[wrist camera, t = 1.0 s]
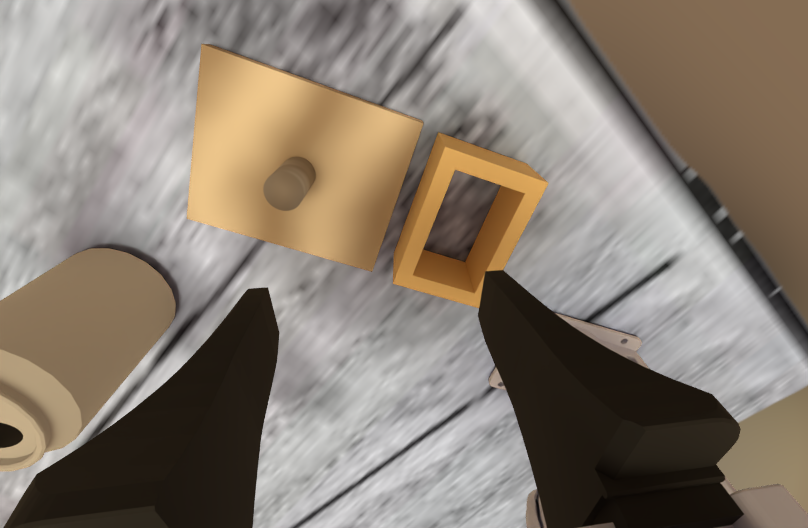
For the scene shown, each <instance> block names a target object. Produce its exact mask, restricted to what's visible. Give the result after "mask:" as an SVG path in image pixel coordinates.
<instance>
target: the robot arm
mask: <svg viewBox="0 0 808 528" xmlns="http://www.w3.org/2000/svg"><path fill="white" fill-rule="evenodd" d="M478 317H479V321H480V325H481V329H482V332H483V335H484V339H485V342H486V344H487V347H488V349H489V351H490V354H491V356H492V358H493V361H494V363H495V365H496V368H495V369H494V371H493V373H492V374H491V376H490V378H489V384H490V386H492V387H495V388H499V389H503V390H506V391H507V393H508V395H509V398H510V400H511V403H512V405H513V408H514V411H515V414H516V417H517V420H518V424H519V427H520V430H521V433H522V436H523V440H524V443H525V447H526V450H527V453H528V457H529V460H530V464H531V467H532V471H533V475H534V479H535V482H536V486H537V489H536V490H533V491H532V492H530V493H529V495H528V498H527V510H526V524H527V528H808V513H807V512H806V511H805V510H804V509H803V508H802V507H801V505H800V504H799V503H798V502H797V501H796V500H795V499H794V498H793V496H792V495H791V494H790V493H789V492H788V491H787V489H786V488H785V487H784V486H783V485H780V484H774V485H767V486H761V487H754V488H747V489H742V490H738V491H736V490H735V488H734V487H733V486H732V485H731V484H730V482H729V481H728V479H727V478H726V477H725V476H724V474H723V473H722V472H721V470H719V468H718V466H717V465H716V464H717V462H718V461H719V460H720V459H721V458H722V457H723V456H724V455H725V454H726V453H727V452H728V451H729V450H730V448H731V447H732V446H733V445H734V444H735V442H736V441H737V440H738V437H739V434H740V427H739V424H738V423H737V421H736V420H735V419H734V418H733V417H732V416H731V415H730V414H729V412H728V411H727V410H726V409H725V408H724V407H723V406H722V405H721V404H720V402H719V401H718V400H717V399H716V398H715V397H714V396H713V395H712V394H710V393H707V392H705V391H702V390H699V389H697V388H694V387H692V386H689V385H686V384H684V383H681V382H678V381H676V380H673V379H671V378H668V377H666V376H664V375H662V374H659V373H657V372H655V371H653V370H650V369H649V368H648V366H647V365H646V364H645V363H644V361H643V360H642V359H641V357H640V356H639V355H638V354H637V352H636V351H637V350H638V348H639V347H640V346H641V344H642V342H641V340H640V339H639V338H638V337H636V336H632V335H629V334H625V333H622V332H618V331H615V330H612V329H608V328H605V327H601V326H598V325H595V324H591V323H588V322H584V321H581V320H577V319H574V318H571V317H567V316H564V315H560V314H557V313H554V312H553V311H551V310H550V309H549V308H547V307H546V306H545V305H544V304H542V303H541V302H540V301H539V300H537V299H536V298H535V297H534V296H533V295H531V294H530V293H529V292H528V291H527V290H525V289H524V288H523V287H522V286H521V285H520V284H518V283H517V282H516V281H515V280H514V279H513V278H512V277H510V276H509V275H508V274H507V273H506V272H504V271H503V270H495V271H485V275H484V281H483V288H482V294H481V300H480V306H479V312H478ZM622 339H624V340H622ZM621 340H622V341H621ZM278 343H279V330H278V326H277V322H276V318H275V314H274V310H273V306H272V302H271V298H270V294H269V290H268V287H267V288H254V289H248V290H247V291H246V292H245V293H244V294H243V296H242V297H241V298H240V300H239V301H238V302H237V304H236V305H235V306H234V307H233V309H232V310H231V311H230V313H229V314H228V315H227V316H226V318H225V319H224V320H223V321H222V323H221V324H220V325H219V326H218V328H217V329H216V330H215V331H214V332H213V334H212V335H211V336H210V337H209V338H208V339H207V341H206V342H205V343H204V344H203V345H202V346H201V347H200V348H199V349H198V350H197V352H196V353H195V354H194V355H193V356H192V357H191V358H190V359H189V360H188V361H187V362H186V363H185V364H184V365H183V366H182V367H181V368H180V369H179V370H178V371H177V372H176V373H175V374H174V375H173V376H172V377H171V378H170V379H169V380H168V381H167V382H165V383H164V384H163V385H162V386H161V387H160V388H159V389H157V390H156V391H155V392H154V393H153V394H151V395H150V396H149V397H148V398H146V399H145V400H144V401H143V402H142V403H140V404H139V405H138V406H137V407H135V408H134V409H133V410H132V411H130V412H129V413H128V414H127V415H125V416H124V417H122V418H121V419H120V420H118V421H117V422H116V423H114V424H113V425H112V426H110V427H109V428H107V429H106V430H105V431H103V432H102V433H100V434H99V435H97V436H96V437H95V438H93V439H92V440H90V441H89V442H87V443H86V444H84V445H83V446H81V447H80V448H78V449H76V450H75V451H73V452H72V453H70V454H69V455H67V456H65V457H64V458H62V459H61V460H59V461H57V462H56V463H54V464H53V465H51V466H50V467H48V468H46V469H45V470H43V471H41V472H40V473H38V474H37V475H36V476H35V478H34V479H33V481H32V482H31V484H30V485H29V487H28V488H27V490H26V491H25V493H24V495H23V496H22V498H21V500H20V501H19V503H18V505H17V506H16V508H15V509H14V511H13V513H12V514H11V516H10V518H9V519H8V521H7V523H6V524H5V526H4V528H252V527H253V514H254V501H255V490H256V480H257V469H258V460H259V451H260V442H261V435H262V429H263V423H264V419H265V414H266V410H267V405H268V400H269V396H270V391H271V387H272V382H273V377H274V373H275V368H276V363H277V355H278ZM500 382H502V383H500Z"/></svg>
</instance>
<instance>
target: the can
mask: <svg viewBox="0 0 808 528" xmlns="http://www.w3.org/2000/svg"><path fill="white" fill-rule="evenodd" d="M175 308H176V302H175V299H174V296H173V293H172V290H171V288H170V287H169V285H168V284H167V282H166V281H165V280H164V278H163V277H162V276H161V274H159V273H158V272H157V271H156V270H155V269H154V268H152V267H151V266H150V265H149V264H148V263H146V262H144V261H143V260H141V259H139V258H137V257H135V256H133V255H131V254H129V253H126V252H122V251H118V250H114V249H110V248H92V249H88V250H85V251H82V252H79V253H76V254H74V255H73V256H71V257H70V258H68V259H66V260H65V261H63V262H62V263H60V264H58V265H57V266H55V267H54V268H52V269H50V270H49V271H47V272H46V273H44V274H42V275H41V276H39V277H38V278H36V279H35V280H33V281H31V282H30V283H28V284H27V285H25V286H23V287H22V288H20V289H19V290H17V291H15V292H14V293H12V294H11V295H9V296H7V297H6V298H4V299H3V300H1V301H0V471H14V470H18V469H22V468H26V467H30V466H31V465H33V464H34V463H36V462H37V461H38V460H40V459H41V458H42V457H43V455H44V453H45V452H49V451H52V450H56V449H60V448H63V447H65V446H66V445H67V444H69V443H70V442H72V441H73V440H75V439H76V438H77V437H78V435H79V434H80V433H81V432H82V431H83V429H84V428H85V427H86V426H87V425H88V423H89V422H90V421H91V420H92V419H93V417H94V416H95V415H96V414H97V413H98V411H99V410H100V409H101V408H102V407H103V405H104V404H105V403H106V402H107V401H108V399H109V398H110V397H111V396H112V395H113V393H114V392H115V391H116V390H117V389H118V387H119V386H120V385H121V384H122V383H123V381H124V380H125V379H126V378H127V377H128V375H129V374H130V373H131V372H132V371H133V369H134V368H135V367H136V366H137V365H138V363H139V362H140V361H141V360H142V359H143V357H144V356H145V355H146V354H147V353H148V351H149V350H150V349H151V348H152V347H153V345H154V344H155V343H156V342H157V341H158V340H159V338H160V337H161V336H162V335H163V334H164V332H165V331H166V330H167V329H168V328H169V326H170V324H171V322H172V321H173V319H174V317H175Z"/></svg>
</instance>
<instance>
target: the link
mask: <svg viewBox="0 0 808 528" xmlns="http://www.w3.org/2000/svg"><path fill="white" fill-rule="evenodd" d="M455 170H458V171H461V172H464V173H467V174H470V175H473V176H475V177H478V178H481V179H484V180H487V181H490V182H493V183H496V184H499V185H501V187H500V189H499V191H498V193H497V195H496V197H495V200H494V202H493V204H492V206H491V208H490V210H489V212H488V214H487V217H486V219H485V221H484V223H483V225H482V227H481V229H480V232H479V234H478V236H477V238H476V240H475V242H474V244H473V246H472V249H471V251H470V253H469V255H468V257H467V259H466V261H465V262H463V261H459V260H456V259H453V258H450V257H446V256H443V255H440V254H436V253H433V252H430V251H426V250H423V248H424V245H425V243H426V240H427V238H428V235H429V233H430V230H431V228H432V226H433V223H434V221H435V218H436V216H437V213H438V211H439V208H440V206H441V203H442V201H443V198H444V196H445V193H446V191H447V188H448V186H449V183H450V181H451V179H452V176H453V174H454V171H455ZM547 185H548V182H547V181H546V180H544V179H543V178H542V177H541V176H540V175H539V174H538V173H537V172H535V171H534V170H533V169H532V168H531V167H530V166H529V165H528V164H526V163H523V162H520V161H518V160H515V159H512V158H509V157H506V156H504V155H501V154H498V153H495V152H492V151H490V150H487V149H484V148H481V147H478V146H476V145H473V144H470V143H467V142H464V141H462V140H459V139H456V138H453V137H450V136H448V135H445V134H442V133H439V132H438V134H437V137H436V140H435V143H434V145H433V148H432V151H431V153H430V156H429V159H428V162H427V164H426V167H425V170H424V172H423V175H422V178H421V181H420V183H419V186H418V189H417V192H416V194H415V197H414V200H413V202H412V205H411V208H410V211H409V213H408V216H407V219H406V221H405V224H404V227H403V230H402V232H401V235H400V238H399V241H398V243H397V246H396V249H395V251H394V266H393V284H396V285H400V286H403V287H407V288H410V289H414V290H417V291H421V292H424V293H428V294H431V295H435V296H438V297H442V298H445V299H449V300H452V301H456V302H459V303H463V304H466V305H470V306H473V307H477V308H479V306H480V300H481V294H482V288H483V281H484V275H485V271H495V270H503V269H504V267H505V265H506V263H507V261H508V259H509V257H510V255H511V254H512V252H513V250H514V248H515V246H516V244H517V242H518V240H519V238H520V236H521V235H522V233H523V231H524V229H525V227H526V225H527V223H528V221H529V219H530V217H531V216H532V214H533V212H534V210H535V208H536V206H537V204H538V202H539V200H540V198H541V197H542V195H543V193H544V191H545V189H546V187H547Z"/></svg>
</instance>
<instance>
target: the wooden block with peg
mask: <svg viewBox="0 0 808 528" xmlns="http://www.w3.org/2000/svg"><path fill="white" fill-rule="evenodd" d="M422 126H423V121H422V120H419V119H416V118H413V117H411V116H408V115H405V114H402V113H399V112H397V111H394V110H391V109H388V108H386V107H383V106H380V105H377V104H374V103H372V102H369V101H366V100H363V99H361V98H358V97H355V96H352V95H349V94H347V93H344V92H341V91H338V90H335V89H333V88H330V87H327V86H324V85H322V84H319V83H316V82H313V81H310V80H308V79H305V78H302V77H299V76H297V75H294V74H291V73H288V72H285V71H283V70H280V69H277V68H274V67H272V66H269V65H266V64H263V63H260V62H258V61H255V60H252V59H249V58H247V57H244V56H241V55H238V54H235V53H233V52H230V51H227V50H224V49H222V48H219V47H216V46H213V45H210V44H202V45H201V57H200V68H199V80H198V92H197V104H196V115H195V127H194V139H193V151H192V162H191V174H190V186H189V198H188V209H187V219H190V220H194V221H197V222H201V223H204V224H208V225H211V226H215V227H218V228H222V229H225V230H229V231H232V232H235V233H239V234H242V235H246V236H249V237H253V238H256V239H260V240H263V241H267V242H270V243H274V244H277V245H281V246H284V247H288V248H291V249H295V250H298V251H302V252H305V253H309V254H312V255H316V256H319V257H323V258H326V259H329V260H333V261H336V262H340V263H343V264H347V265H350V266H354V267H357V268H361V269H364V270H368V271H371V272H372V270H373V268H374V265H375V262H376V259H377V256H378V253H379V250H380V247H381V244H382V242H383V239H384V236H385V233H386V230H387V227H388V224H389V221H390V219H391V216H392V213H393V210H394V207H395V204H396V201H397V198H398V195H399V193H400V190H401V187H402V184H403V181H404V178H405V175H406V172H407V169H408V167H409V164H410V161H411V158H412V155H413V152H414V149H415V146H416V144H417V141H418V138H419V135H420V132H421V129H422Z"/></svg>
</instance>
